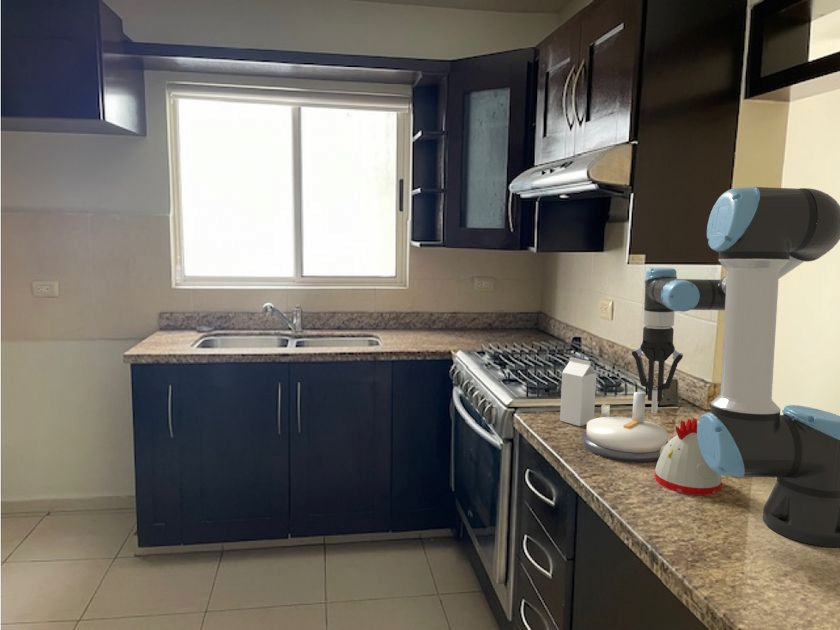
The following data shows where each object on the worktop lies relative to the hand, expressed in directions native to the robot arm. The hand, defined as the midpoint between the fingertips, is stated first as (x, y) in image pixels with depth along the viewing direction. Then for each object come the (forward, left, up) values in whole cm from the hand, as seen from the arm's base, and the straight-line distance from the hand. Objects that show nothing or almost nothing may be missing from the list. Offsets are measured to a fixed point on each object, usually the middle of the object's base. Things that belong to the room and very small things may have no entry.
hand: (654, 412), depth 165 cm
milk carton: (+8, +22, -8) cm, 25 cm away
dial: (-8, +6, -6) cm, 12 cm away
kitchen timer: (-25, -10, -9) cm, 28 cm away
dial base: (-7, +6, -8) cm, 12 cm away
